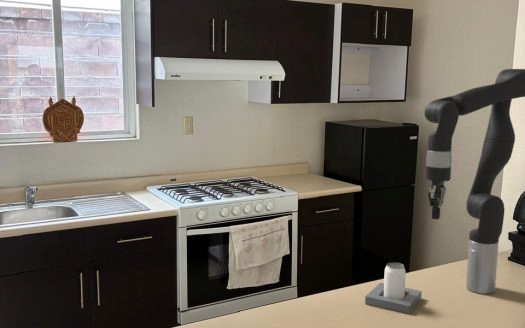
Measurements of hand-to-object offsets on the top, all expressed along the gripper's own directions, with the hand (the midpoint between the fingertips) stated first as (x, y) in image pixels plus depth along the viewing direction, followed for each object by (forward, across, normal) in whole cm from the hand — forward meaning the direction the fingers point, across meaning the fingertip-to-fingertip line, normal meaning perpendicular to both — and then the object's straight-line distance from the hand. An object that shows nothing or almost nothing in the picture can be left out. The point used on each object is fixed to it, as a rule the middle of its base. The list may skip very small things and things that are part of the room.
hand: (435, 218), depth 169 cm
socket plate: (+27, -8, +10) cm, 30 cm away
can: (+27, -8, +10) cm, 30 cm away
